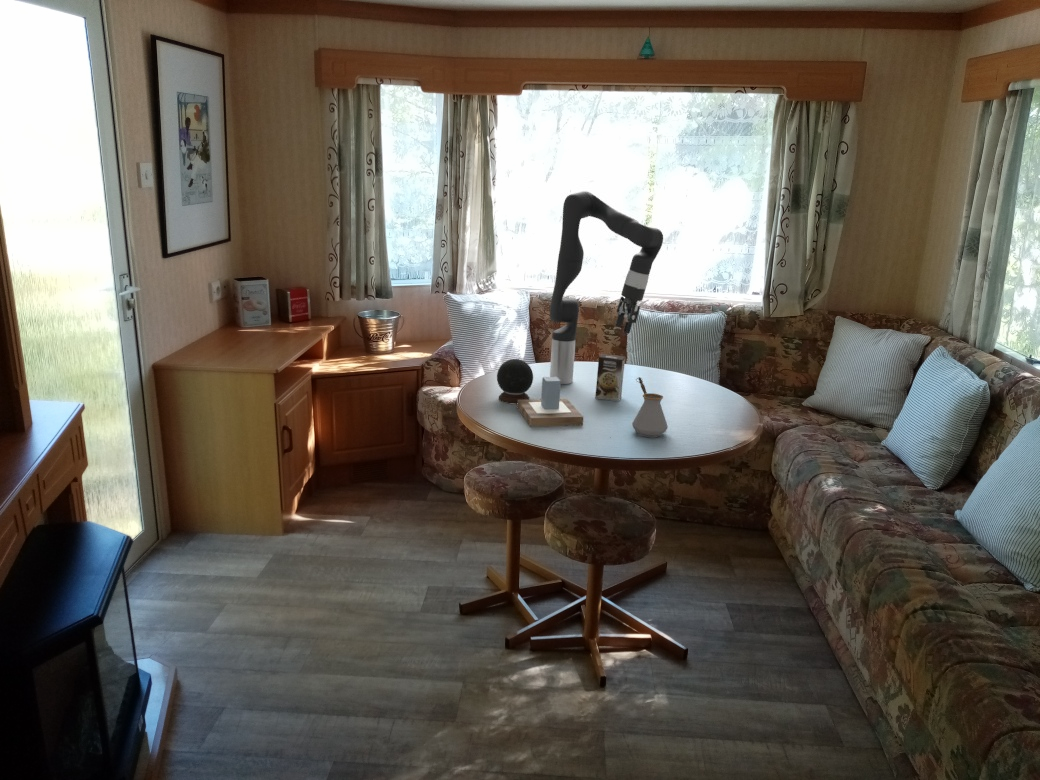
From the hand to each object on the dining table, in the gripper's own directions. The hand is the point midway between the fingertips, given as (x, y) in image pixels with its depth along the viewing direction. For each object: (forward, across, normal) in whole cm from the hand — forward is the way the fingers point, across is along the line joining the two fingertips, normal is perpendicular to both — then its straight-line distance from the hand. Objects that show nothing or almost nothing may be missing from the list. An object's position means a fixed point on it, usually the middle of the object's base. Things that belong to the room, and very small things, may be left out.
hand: (622, 329), depth 271 cm
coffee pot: (+27, +23, +8) cm, 36 cm away
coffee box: (+29, -11, +7) cm, 31 cm away
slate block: (+30, +9, -21) cm, 37 cm away
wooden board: (+33, +9, -20) cm, 40 cm away
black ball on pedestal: (+36, -11, -29) cm, 47 cm away
